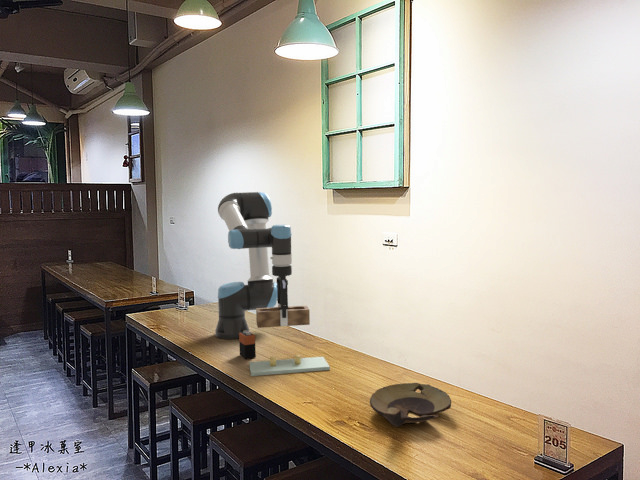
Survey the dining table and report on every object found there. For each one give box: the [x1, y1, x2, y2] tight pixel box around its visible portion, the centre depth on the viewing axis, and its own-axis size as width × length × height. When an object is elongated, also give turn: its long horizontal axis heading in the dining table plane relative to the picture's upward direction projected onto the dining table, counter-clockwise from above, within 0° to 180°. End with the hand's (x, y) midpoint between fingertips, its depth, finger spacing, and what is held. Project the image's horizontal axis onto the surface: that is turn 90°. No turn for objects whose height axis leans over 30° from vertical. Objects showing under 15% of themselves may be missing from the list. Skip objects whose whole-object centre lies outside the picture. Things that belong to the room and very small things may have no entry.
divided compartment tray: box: [255, 305, 311, 329], centre depth 208 cm, size 20×7×6 cm, turn 101°
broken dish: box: [369, 382, 452, 428], centre depth 150 cm, size 22×30×8 cm
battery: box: [238, 330, 257, 360], centre depth 208 cm, size 4×7×10 cm, turn 29°
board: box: [248, 354, 331, 377], centre depth 194 cm, size 28×12×4 cm, turn 101°
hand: (282, 323), depth 208 cm, fingers closed on divided compartment tray, 7 cm apart
